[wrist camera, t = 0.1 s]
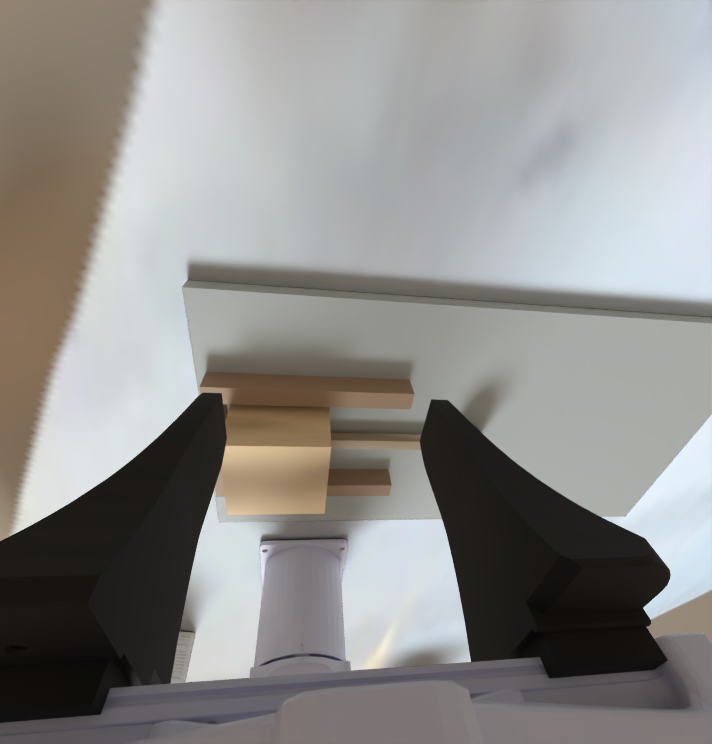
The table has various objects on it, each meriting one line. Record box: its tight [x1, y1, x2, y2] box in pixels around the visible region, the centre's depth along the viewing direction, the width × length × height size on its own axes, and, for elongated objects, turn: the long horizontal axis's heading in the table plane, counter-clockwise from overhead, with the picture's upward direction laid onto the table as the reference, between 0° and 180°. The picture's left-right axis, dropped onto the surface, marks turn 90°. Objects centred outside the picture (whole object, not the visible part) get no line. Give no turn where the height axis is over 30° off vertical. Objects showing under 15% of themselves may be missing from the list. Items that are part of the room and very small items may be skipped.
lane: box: [182, 280, 712, 522], centre depth 27 cm, size 20×37×2 cm, turn 84°
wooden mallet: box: [221, 405, 480, 515], centre depth 24 cm, size 6×17×4 cm, turn 84°
